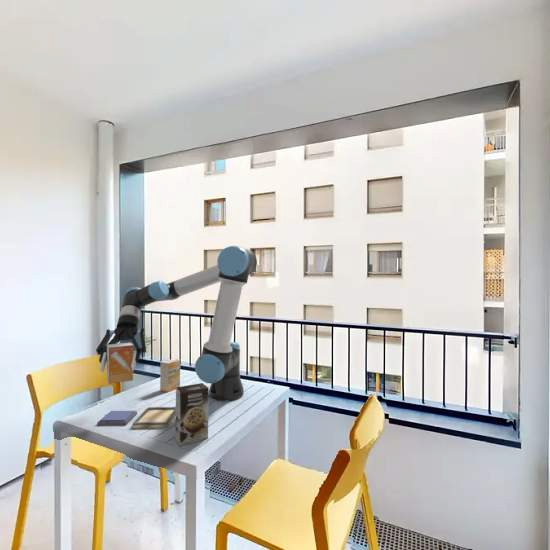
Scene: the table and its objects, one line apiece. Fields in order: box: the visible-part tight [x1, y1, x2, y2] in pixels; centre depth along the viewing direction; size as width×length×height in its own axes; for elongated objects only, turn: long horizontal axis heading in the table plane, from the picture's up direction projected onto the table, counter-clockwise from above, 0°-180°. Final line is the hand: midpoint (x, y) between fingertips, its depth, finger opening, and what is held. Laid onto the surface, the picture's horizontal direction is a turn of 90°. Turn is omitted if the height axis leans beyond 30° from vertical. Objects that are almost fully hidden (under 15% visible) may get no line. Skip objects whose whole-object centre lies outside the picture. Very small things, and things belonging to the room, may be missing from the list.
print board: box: [131, 406, 176, 429], centre depth 114 cm, size 12×14×2 cm
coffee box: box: [174, 382, 210, 446], centre depth 101 cm, size 9×6×16 cm
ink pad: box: [96, 410, 138, 426], centre depth 114 cm, size 10×9×2 cm
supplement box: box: [159, 358, 181, 393], centre depth 146 cm, size 8×5×13 cm, turn 154°
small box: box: [106, 341, 134, 385], centre depth 115 cm, size 8×6×13 cm
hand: (117, 369), depth 112 cm, fingers closed on small box, 10 cm apart
